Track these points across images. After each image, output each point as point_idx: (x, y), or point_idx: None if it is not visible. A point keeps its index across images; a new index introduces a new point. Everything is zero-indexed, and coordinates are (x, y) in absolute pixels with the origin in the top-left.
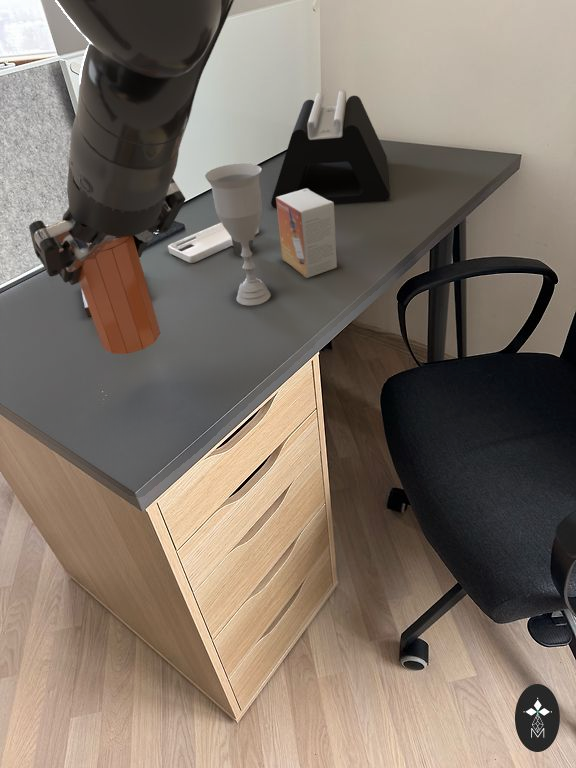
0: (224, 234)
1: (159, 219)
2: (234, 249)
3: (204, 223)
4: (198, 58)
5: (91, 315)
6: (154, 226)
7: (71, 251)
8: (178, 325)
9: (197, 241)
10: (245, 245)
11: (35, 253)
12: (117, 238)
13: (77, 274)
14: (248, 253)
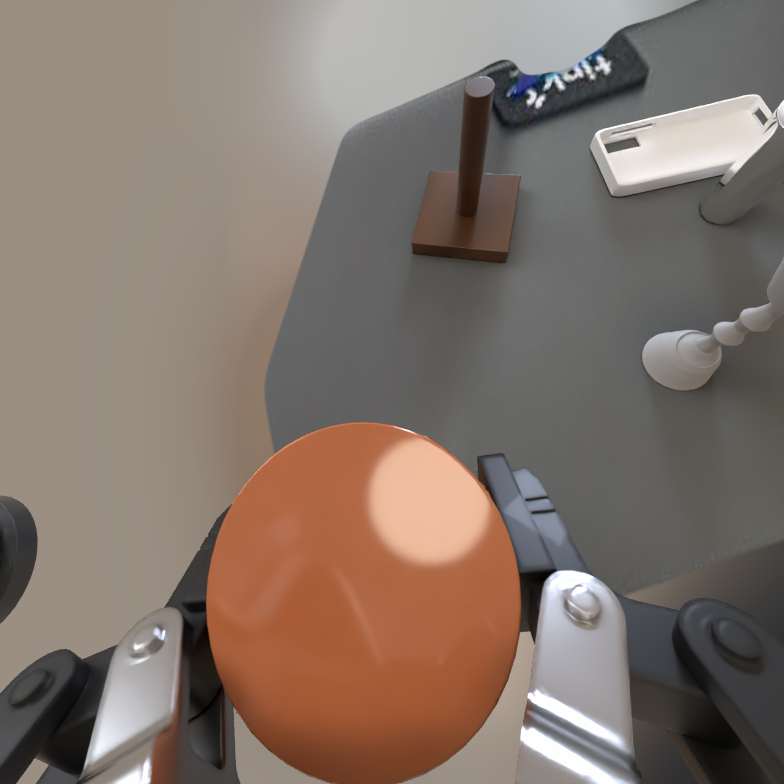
0: (708, 136)
1: (718, 735)
2: (709, 204)
3: (686, 81)
4: None
5: (418, 253)
6: (650, 721)
7: (194, 671)
8: (522, 359)
9: (650, 135)
10: (780, 313)
11: (10, 686)
12: (407, 771)
13: None
14: (763, 326)
